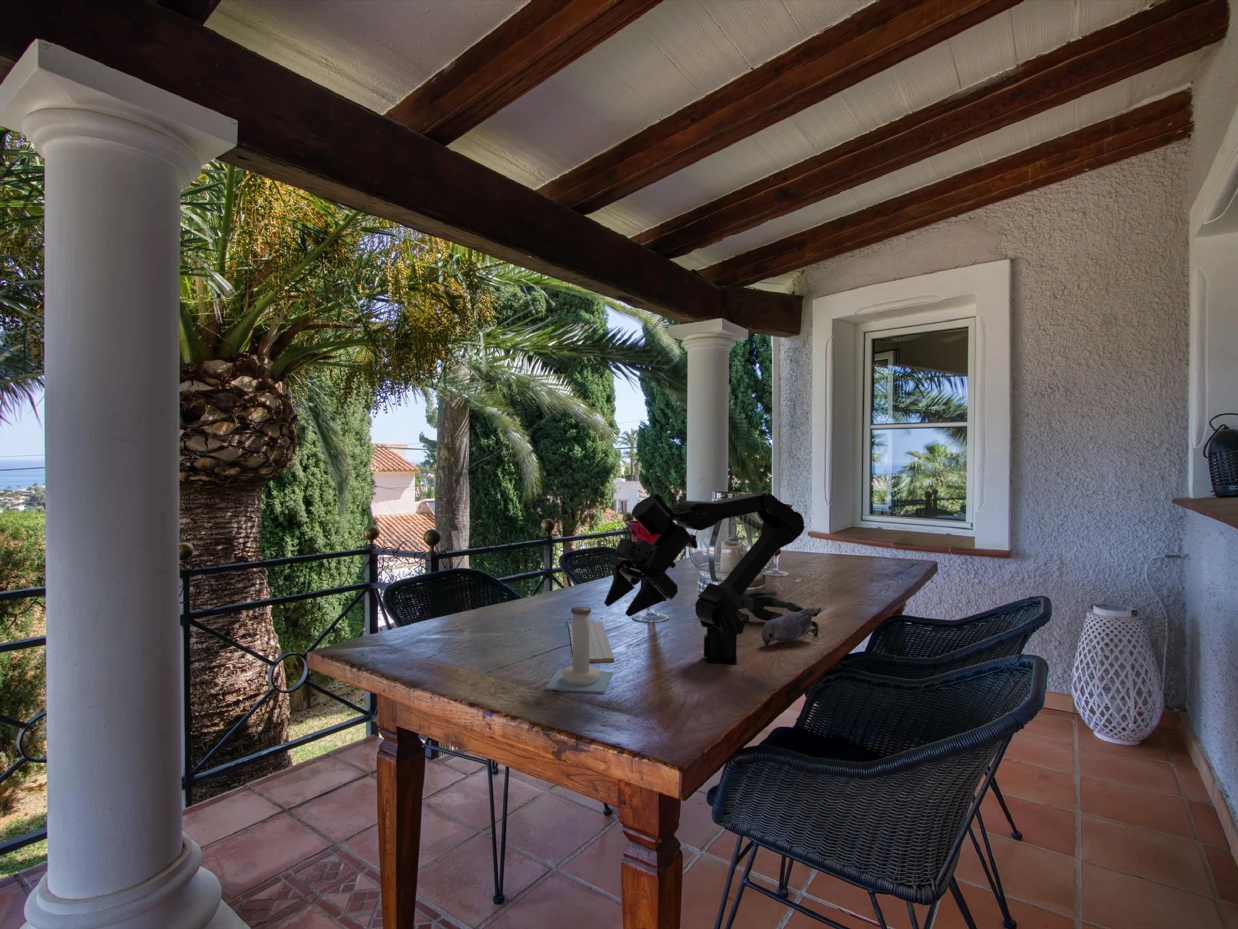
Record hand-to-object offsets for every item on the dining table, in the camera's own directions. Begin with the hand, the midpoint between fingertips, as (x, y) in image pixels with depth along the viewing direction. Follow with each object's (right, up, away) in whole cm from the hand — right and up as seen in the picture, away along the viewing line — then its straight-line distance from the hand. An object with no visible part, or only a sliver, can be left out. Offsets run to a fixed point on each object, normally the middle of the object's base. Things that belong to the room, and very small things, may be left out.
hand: (616, 610), depth 129 cm
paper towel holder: (-7, -13, -3) cm, 15 cm away
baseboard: (-7, -13, +24) cm, 28 cm away
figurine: (+39, -13, +45) cm, 61 cm away
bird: (+41, -13, +25) cm, 50 cm away
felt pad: (-7, -13, -3) cm, 15 cm away
